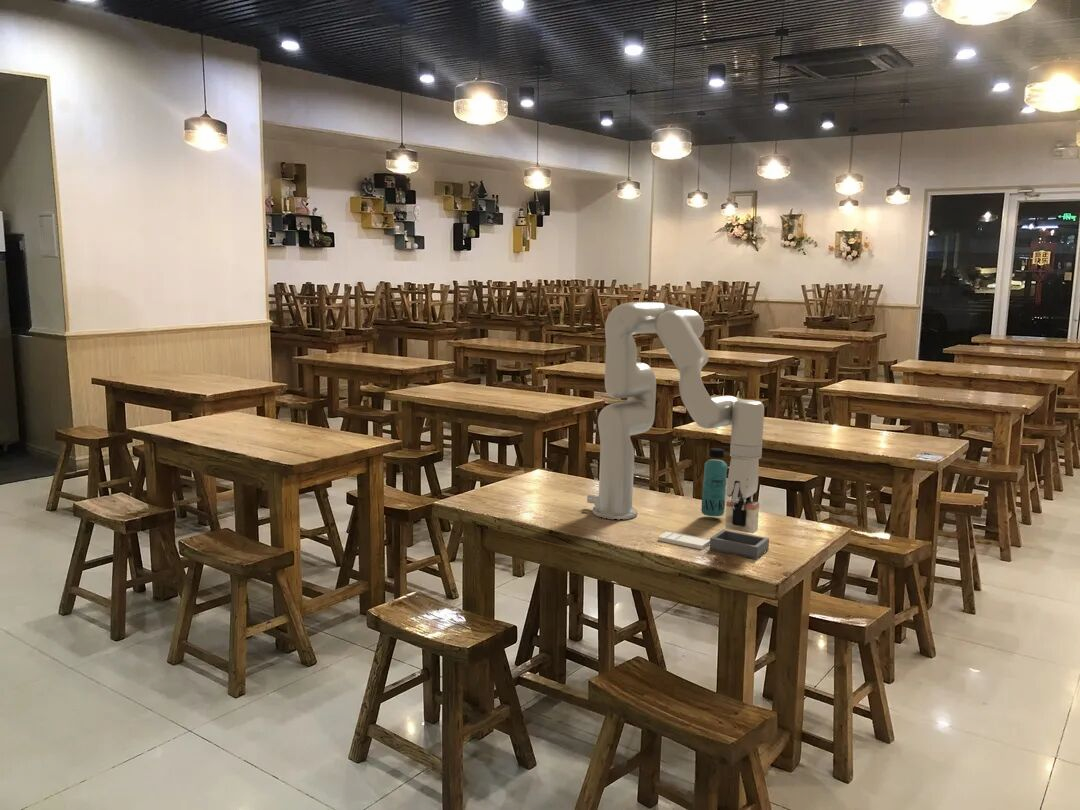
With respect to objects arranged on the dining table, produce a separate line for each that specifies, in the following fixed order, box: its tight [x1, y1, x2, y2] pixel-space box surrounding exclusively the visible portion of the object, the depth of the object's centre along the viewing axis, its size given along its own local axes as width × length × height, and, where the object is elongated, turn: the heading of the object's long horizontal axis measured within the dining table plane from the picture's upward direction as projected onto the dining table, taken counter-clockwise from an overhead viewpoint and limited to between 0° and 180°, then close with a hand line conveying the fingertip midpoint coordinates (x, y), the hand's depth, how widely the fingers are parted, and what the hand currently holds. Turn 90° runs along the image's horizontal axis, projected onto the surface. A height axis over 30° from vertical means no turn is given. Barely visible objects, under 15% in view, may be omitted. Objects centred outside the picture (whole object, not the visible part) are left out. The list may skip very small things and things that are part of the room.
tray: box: [709, 529, 770, 560], centre depth 212 cm, size 12×9×3 cm
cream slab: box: [657, 530, 710, 550], centre depth 218 cm, size 12×6×1 cm, turn 58°
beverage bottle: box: [700, 447, 728, 517], centre depth 238 cm, size 6×7×20 cm
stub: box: [724, 497, 760, 534], centre depth 211 cm, size 7×4×7 cm, turn 58°
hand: (741, 522), depth 211 cm, fingers closed on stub, 3 cm apart
